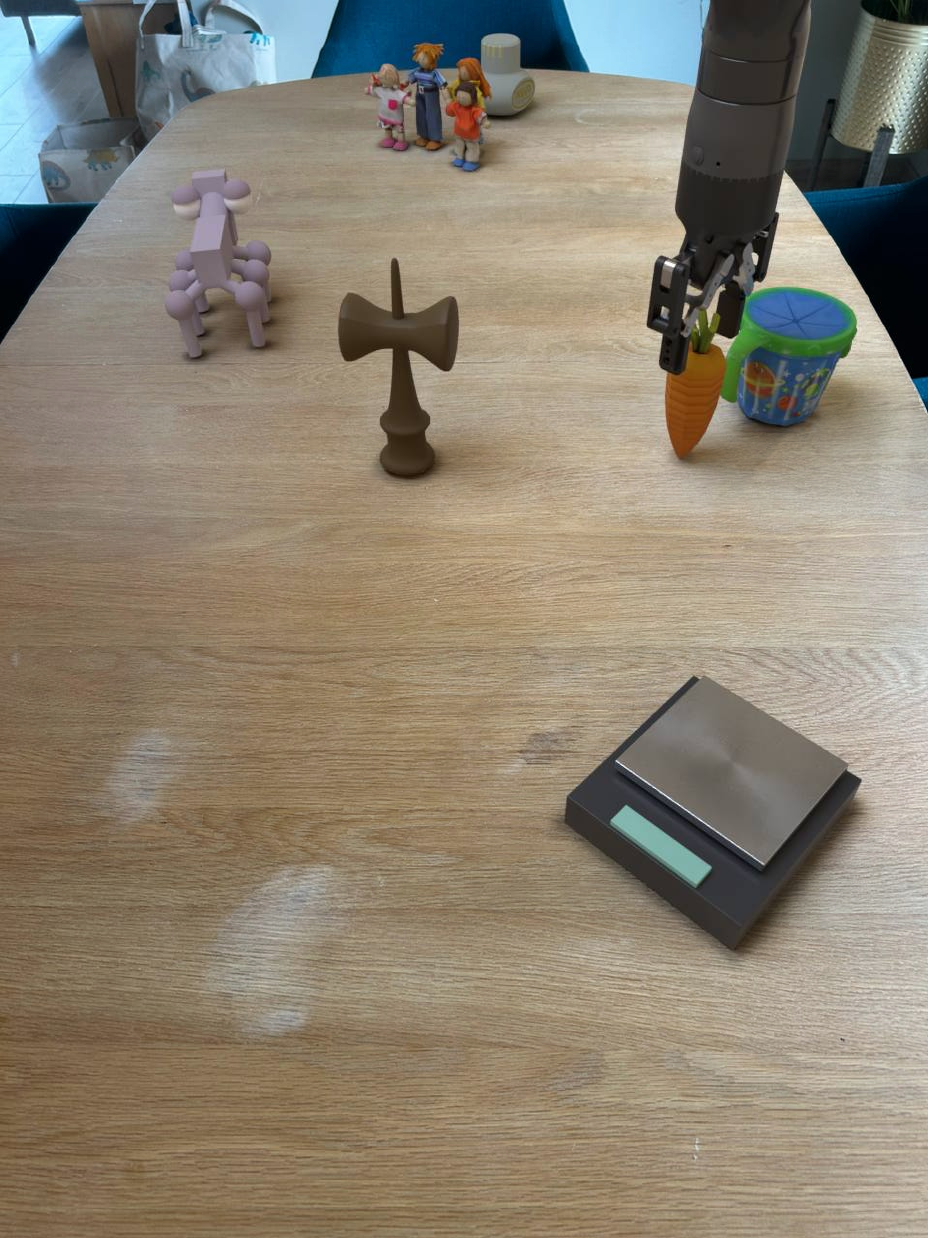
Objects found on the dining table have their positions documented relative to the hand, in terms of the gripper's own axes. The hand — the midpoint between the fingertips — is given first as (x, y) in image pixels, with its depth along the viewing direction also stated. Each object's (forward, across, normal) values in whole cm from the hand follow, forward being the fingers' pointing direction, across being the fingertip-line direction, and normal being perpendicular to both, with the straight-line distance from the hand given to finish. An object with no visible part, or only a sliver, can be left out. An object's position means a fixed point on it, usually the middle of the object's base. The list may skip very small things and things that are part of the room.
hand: (699, 351), depth 85 cm
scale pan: (+8, -30, -24) cm, 39 cm away
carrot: (+11, 0, 0) cm, 11 cm away
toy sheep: (+11, -12, +53) cm, 55 cm away
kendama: (+11, -18, +18) cm, 28 cm away
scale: (+11, -31, -24) cm, 41 cm away
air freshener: (+11, +55, +73) cm, 92 cm away
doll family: (+11, +38, +69) cm, 80 cm away
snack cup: (+11, +13, -2) cm, 17 cm away
